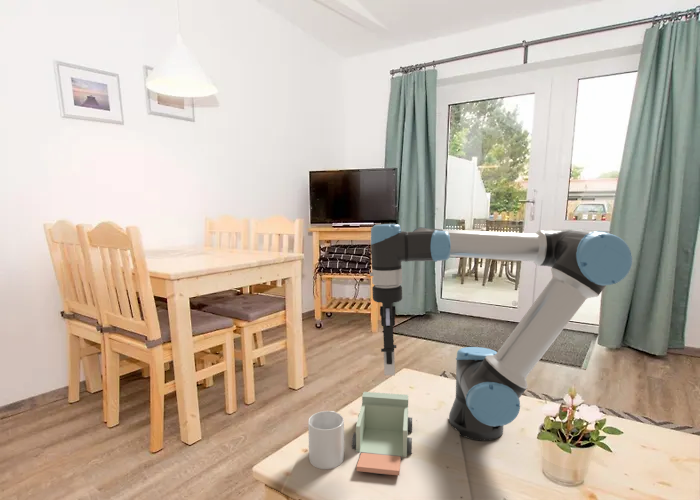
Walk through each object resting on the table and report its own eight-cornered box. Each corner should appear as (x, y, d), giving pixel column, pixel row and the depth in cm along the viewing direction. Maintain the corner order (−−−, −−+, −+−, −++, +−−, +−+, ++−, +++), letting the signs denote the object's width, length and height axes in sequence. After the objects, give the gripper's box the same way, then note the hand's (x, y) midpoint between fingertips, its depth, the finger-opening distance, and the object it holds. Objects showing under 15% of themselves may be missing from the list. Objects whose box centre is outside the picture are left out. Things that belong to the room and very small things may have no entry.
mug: (340, 475, 94) (340, 431, 93) (305, 471, 95) (304, 428, 94) (348, 445, 106) (348, 406, 105) (316, 442, 107) (316, 403, 106)
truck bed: (412, 428, 114) (412, 395, 113) (411, 460, 99) (411, 423, 98) (359, 423, 116) (359, 391, 115) (351, 454, 102) (351, 418, 100)
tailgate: (401, 455, 99) (400, 471, 90) (401, 461, 99) (400, 478, 90) (360, 451, 101) (355, 466, 92) (360, 457, 101) (355, 473, 92)
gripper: (373, 280, 106) (376, 364, 109) (371, 290, 93) (374, 385, 96) (401, 280, 105) (403, 364, 108) (402, 290, 93) (405, 385, 95)
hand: (389, 374), depth 102 cm, fingers closed
